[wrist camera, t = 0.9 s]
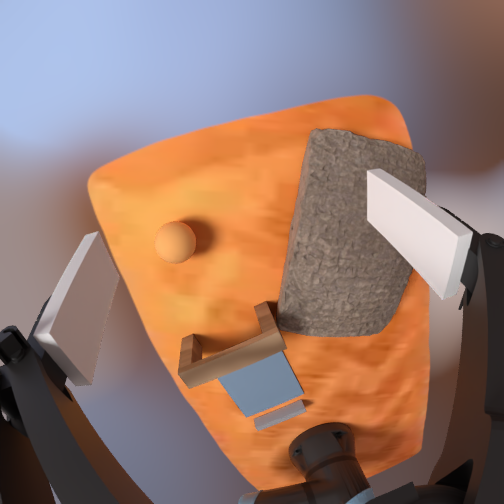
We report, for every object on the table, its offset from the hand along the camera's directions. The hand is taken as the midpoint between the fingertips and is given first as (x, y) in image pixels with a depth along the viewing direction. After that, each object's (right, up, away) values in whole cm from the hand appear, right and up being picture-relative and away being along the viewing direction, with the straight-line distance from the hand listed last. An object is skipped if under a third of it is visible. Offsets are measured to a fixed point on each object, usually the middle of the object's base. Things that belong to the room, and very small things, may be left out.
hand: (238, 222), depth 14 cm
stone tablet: (+15, +1, +32) cm, 35 cm away
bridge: (-3, -13, +33) cm, 35 cm away
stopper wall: (+6, -32, +39) cm, 51 cm away
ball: (-9, 0, +25) cm, 27 cm away
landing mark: (+3, -25, +37) cm, 45 cm away
